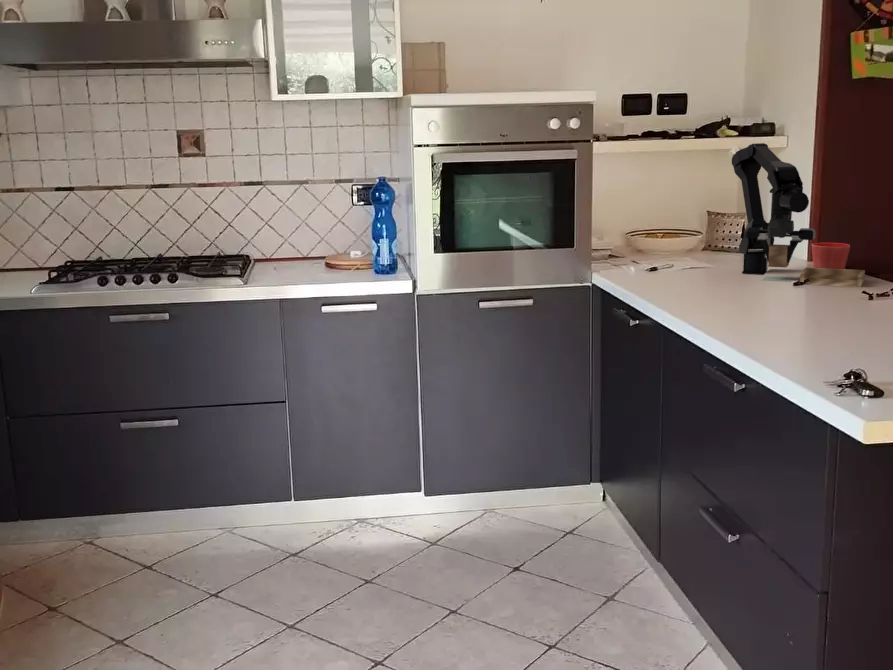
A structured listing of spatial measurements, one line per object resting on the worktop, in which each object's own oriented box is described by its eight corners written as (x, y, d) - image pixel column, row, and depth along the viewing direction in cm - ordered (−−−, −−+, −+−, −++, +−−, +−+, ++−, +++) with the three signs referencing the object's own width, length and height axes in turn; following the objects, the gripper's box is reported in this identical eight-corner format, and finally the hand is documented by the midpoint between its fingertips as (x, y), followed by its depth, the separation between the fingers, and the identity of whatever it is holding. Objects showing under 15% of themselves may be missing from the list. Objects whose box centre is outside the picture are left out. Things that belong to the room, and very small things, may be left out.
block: (768, 266, 266) (769, 246, 264) (771, 264, 270) (772, 244, 269) (786, 267, 264) (787, 247, 262) (788, 265, 268) (789, 244, 266)
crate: (799, 285, 259) (800, 273, 258) (805, 279, 269) (805, 267, 268) (860, 288, 251) (861, 276, 250) (864, 282, 261) (864, 270, 261)
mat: (761, 282, 266) (761, 280, 266) (766, 277, 273) (766, 276, 273) (790, 283, 262) (790, 281, 262) (794, 279, 269) (794, 277, 269)
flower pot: (840, 273, 278) (843, 241, 276) (853, 279, 267) (855, 246, 265) (805, 273, 279) (807, 242, 277) (815, 279, 268) (817, 246, 266)
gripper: (743, 211, 261) (740, 265, 264) (812, 212, 252) (808, 268, 255) (750, 208, 270) (747, 259, 274) (817, 209, 261) (813, 262, 265)
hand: (778, 262), depth 267 cm, fingers closed on block, 5 cm apart
